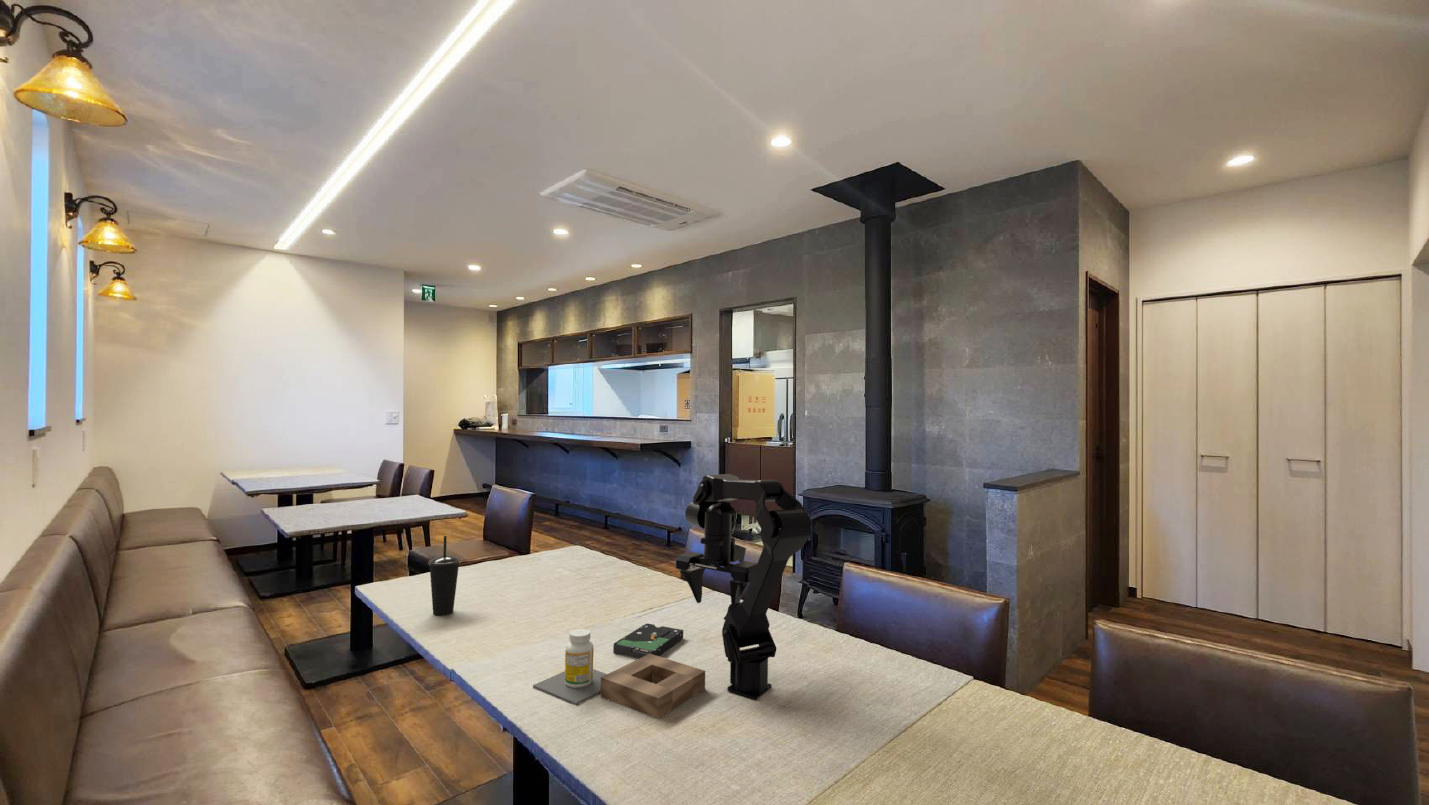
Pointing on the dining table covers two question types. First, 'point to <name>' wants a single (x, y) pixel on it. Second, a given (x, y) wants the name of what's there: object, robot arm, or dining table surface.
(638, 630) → the disk drive
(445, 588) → the drinking cup
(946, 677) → the dining table surface
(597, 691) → the rubber mat
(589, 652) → the supplement bottle
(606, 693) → the socket block
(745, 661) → the robot arm
